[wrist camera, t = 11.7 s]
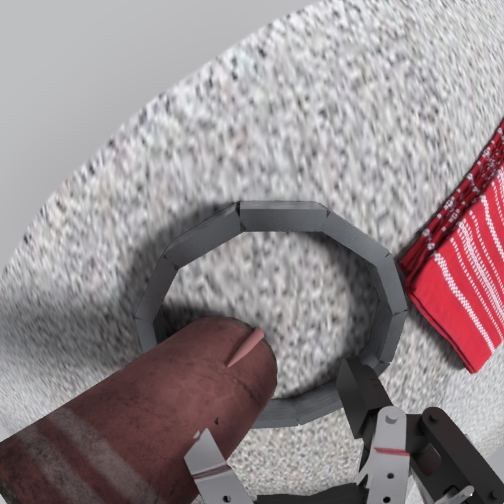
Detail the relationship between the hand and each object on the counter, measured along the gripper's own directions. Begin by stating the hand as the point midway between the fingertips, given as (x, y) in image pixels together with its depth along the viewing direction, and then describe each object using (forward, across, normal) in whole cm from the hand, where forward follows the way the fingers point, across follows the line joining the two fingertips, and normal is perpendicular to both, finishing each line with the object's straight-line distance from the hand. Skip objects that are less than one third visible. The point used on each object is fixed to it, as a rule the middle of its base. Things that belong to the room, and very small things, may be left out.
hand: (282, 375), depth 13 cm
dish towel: (+5, -21, -7) cm, 22 cm away
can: (-10, +9, 0) cm, 13 cm away
